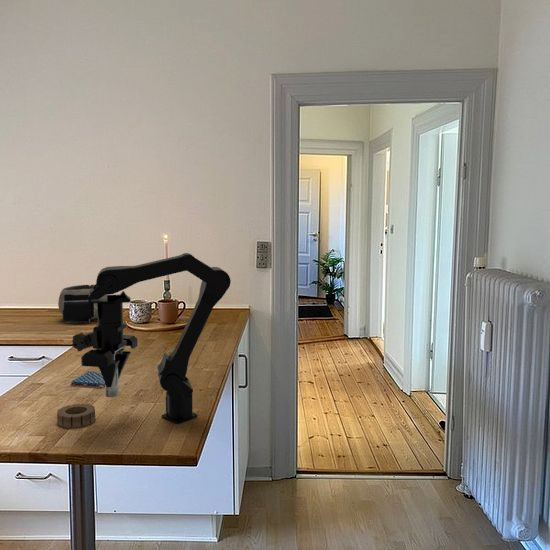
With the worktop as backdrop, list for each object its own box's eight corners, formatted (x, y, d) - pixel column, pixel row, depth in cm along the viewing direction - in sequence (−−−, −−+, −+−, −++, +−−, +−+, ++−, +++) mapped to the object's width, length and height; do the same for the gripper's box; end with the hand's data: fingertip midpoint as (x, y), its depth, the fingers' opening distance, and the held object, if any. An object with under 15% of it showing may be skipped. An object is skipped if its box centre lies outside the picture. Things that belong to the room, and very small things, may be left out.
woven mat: (119, 378, 168) (119, 372, 168) (102, 390, 158) (102, 383, 157) (87, 376, 170) (87, 370, 169) (68, 388, 159) (68, 381, 159)
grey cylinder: (121, 394, 133) (120, 362, 132) (110, 398, 131) (109, 365, 130) (113, 392, 135) (113, 360, 134) (103, 395, 133) (102, 362, 132)
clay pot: (55, 326, 231) (54, 291, 229) (62, 316, 251) (61, 283, 249) (108, 324, 236) (107, 289, 234) (111, 314, 256) (110, 282, 254)
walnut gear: (102, 419, 136) (101, 409, 135) (69, 430, 129) (69, 420, 129) (82, 411, 141) (82, 401, 141) (50, 421, 135) (50, 410, 134)
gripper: (95, 311, 141) (97, 371, 143) (57, 328, 122) (60, 396, 124) (137, 313, 139) (138, 373, 141) (105, 330, 121) (107, 399, 123)
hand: (111, 384), depth 133 cm, fingers closed on grey cylinder, 3 cm apart
